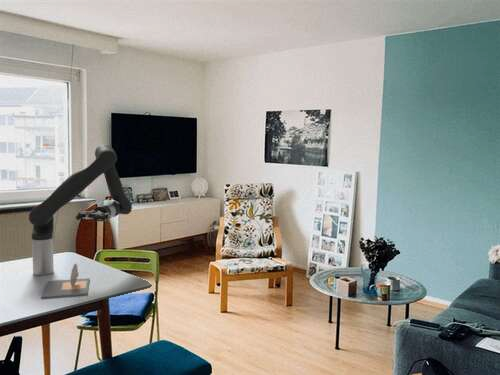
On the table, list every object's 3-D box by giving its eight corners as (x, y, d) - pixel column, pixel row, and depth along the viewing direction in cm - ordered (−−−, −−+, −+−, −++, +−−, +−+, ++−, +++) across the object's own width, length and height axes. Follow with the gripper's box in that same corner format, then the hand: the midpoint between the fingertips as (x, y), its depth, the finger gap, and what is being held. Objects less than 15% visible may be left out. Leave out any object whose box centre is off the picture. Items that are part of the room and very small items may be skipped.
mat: (47, 282, 207) (47, 280, 207) (89, 279, 213) (89, 277, 213) (41, 298, 187) (41, 296, 187) (87, 295, 193) (87, 292, 193)
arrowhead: (73, 288, 198) (72, 266, 197) (67, 288, 198) (66, 265, 197) (81, 282, 206) (80, 261, 205) (75, 282, 206) (74, 260, 205)
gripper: (91, 204, 223) (71, 209, 207) (117, 205, 220) (99, 211, 204) (91, 219, 224) (71, 225, 208) (117, 220, 220) (99, 227, 205)
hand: (85, 218), depth 206 cm, fingers open, 8 cm apart
